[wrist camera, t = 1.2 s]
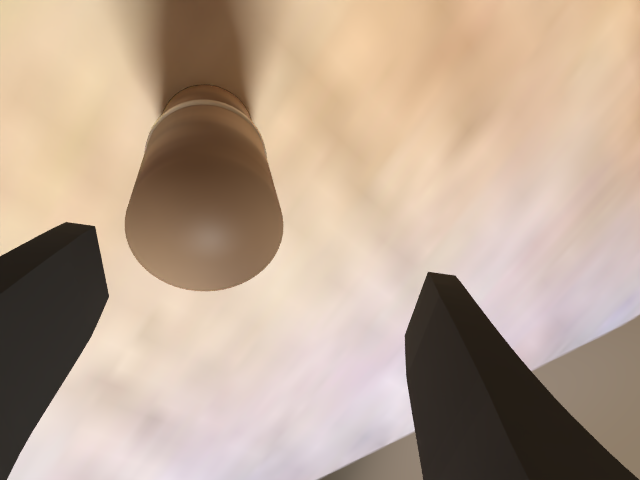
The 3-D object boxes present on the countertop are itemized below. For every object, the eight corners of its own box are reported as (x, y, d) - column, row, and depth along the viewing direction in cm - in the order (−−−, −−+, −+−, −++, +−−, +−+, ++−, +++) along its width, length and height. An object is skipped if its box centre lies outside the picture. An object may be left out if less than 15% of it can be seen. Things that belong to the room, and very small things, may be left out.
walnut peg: (171, 184, 19) (152, 306, 13) (140, 87, 17) (96, 174, 10) (266, 166, 20) (295, 275, 13) (247, 69, 17) (271, 143, 11)
